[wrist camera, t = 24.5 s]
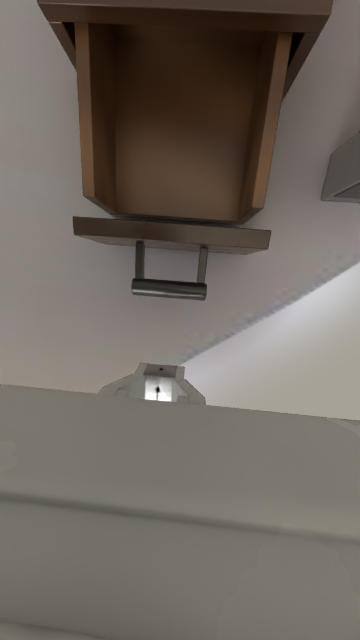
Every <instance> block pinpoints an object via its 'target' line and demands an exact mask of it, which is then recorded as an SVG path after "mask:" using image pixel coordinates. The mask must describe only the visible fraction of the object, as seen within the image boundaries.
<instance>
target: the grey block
mask: <svg viewBox="0 0 360 640" xmlns="http://www.w3.org/2000/svg"><path fill="white" fill-rule="evenodd" d="M321 200H323V201H338V202H353V203H360V131H359V132H358V133H357V134H356V135H354V136H353V137H352V138H351V139H349V140H348V141H347V142H346V143H344V144H343V145H342V146H341V147H340V148H338V149H337V150H336V151H335V152H333V153H332V155H331V159H330V163H329V167H328V172H327V176H326V180H325V184H324V189H323V193H322V197H321Z"/></svg>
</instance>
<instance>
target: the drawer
mask: <svg viewBox="0 0 360 640" xmlns="http://www.w3.org/2000/svg"><path fill="white" fill-rule="evenodd" d="M74 24H75V44H76V64H77V83H78V103H79V123H80V143H81V163H82V182H83V196H84V197H86V198H87V199H89V200H90V201H91V202H93V203H94V204H96V205H97V206H99V207H100V208H102V209H103V210H105V211H106V212H107V213H109V214H111V215H118V216H132V217H146V218H160V219H175V220H189V221H203V222H217V223H231V224H244V223H245V222H247V221H248V220H249V219H251V218H252V217H253V216H254V215H256V214H257V213H258V212H259V211H260V210H262V209H263V208H264V202H265V196H266V190H267V184H268V178H269V172H270V166H271V160H272V154H273V148H274V142H275V136H276V130H277V124H278V118H279V112H280V106H281V101H282V95H283V89H284V83H285V77H286V71H287V65H288V59H289V53H290V47H291V41H292V35H293V32H277V31H255V30H233V29H211V28H189V27H167V26H145V25H123V24H101V23H79V22H74ZM73 229H74V235H76V236H79V237H82V238H86V239H89V240H93V241H96V242H100V243H103V244H108V245H121V246H135V247H136V262H135V278H133V280H132V286H131V288H132V293H133V295H142V296H154V297H167V298H179V299H192V300H205V298H206V292H207V284H206V283H205V273H206V264H207V254H208V252H215V253H229V254H242V255H246V254H250V253H254V252H259V251H263V250H267V249H268V247H269V241H270V236H271V230H260V229H246V228H232V227H217V226H203V225H189V224H175V223H161V222H147V221H133V220H119V219H105V218H91V217H77V216H73ZM145 247H148V248H161V249H175V250H188V251H200V253H199V264H198V274H197V283H195V282H182V281H169V280H156V279H144V257H145Z"/></svg>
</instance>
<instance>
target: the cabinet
mask: <svg viewBox="0 0 360 640" xmlns="http://www.w3.org/2000/svg"><path fill="white" fill-rule="evenodd" d="M37 3H38V5H39V7H40V8H41V10H42V12H43V14H44V15H45V17H46V19H47V20H48V21H49V24H50V25H51V27H52V29H53V31H54V33H55V34H56V36H57V38H58V40H59V41H60V43H61V45H62V47H63V48H64V50H65V52H66V54H67V55H68V57H69V59H70V61H71V62H72V64H73V66H74V68H75V69H76V71H77V64H76V44H75V24H74V22H79V23H101V24H123V25H145V26H167V27H189V28H211V29H233V30H255V31H277V32H293V35H292V41H291V47H290V53H289V59H288V65H287V71H286V77H285V83H284V89H283V95H282V101H283V99H284V97H285V96H286V94H287V92H288V90H289V89H290V87H291V85H292V83H293V81H294V80H295V78H296V76H297V74H298V72H299V71H300V69H301V67H302V65H303V63H304V62H305V60H306V58H307V56H308V54H309V53H310V51H311V49H312V47H313V45H314V44H315V42H316V40H317V38H318V36H319V35H320V33H321V31H322V29H323V27H324V25H325V24H326V22H327V20H328V18H329V16H330V14H331V9H332V4H333V0H37ZM282 101H281V103H282Z"/></svg>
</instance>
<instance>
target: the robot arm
mask: <svg viewBox="0 0 360 640" xmlns="http://www.w3.org/2000/svg"><path fill="white" fill-rule="evenodd" d="M184 369H185V367H181V366H169V365H158V364H148V363H140V365H139V366H138V368H137V370H136V372H135V374H131V375H129V376H127V377H124V378H122V379H120V380H118V381H116V382H113V383H111V384H109V385H107V386H104V387H103V388H102V389H101V390H100V392H99V393H98V394H93V393H83V392H74V391H64V390H54V389H44V388H34V387H25V386H15V385H5V384H0V640H360V421H358V420H347V419H337V418H327V417H316V416H308V415H298V414H288V413H278V412H268V411H259V410H249V409H239V408H229V407H219V406H210V405H206V402H205V397H204V396H203V395H202V394H201V393H199V391H197V390H196V389H195V388H194V387H193V386H192V385H191V384H190V383H189V382H188V381H187V380H186V379H184Z"/></svg>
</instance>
